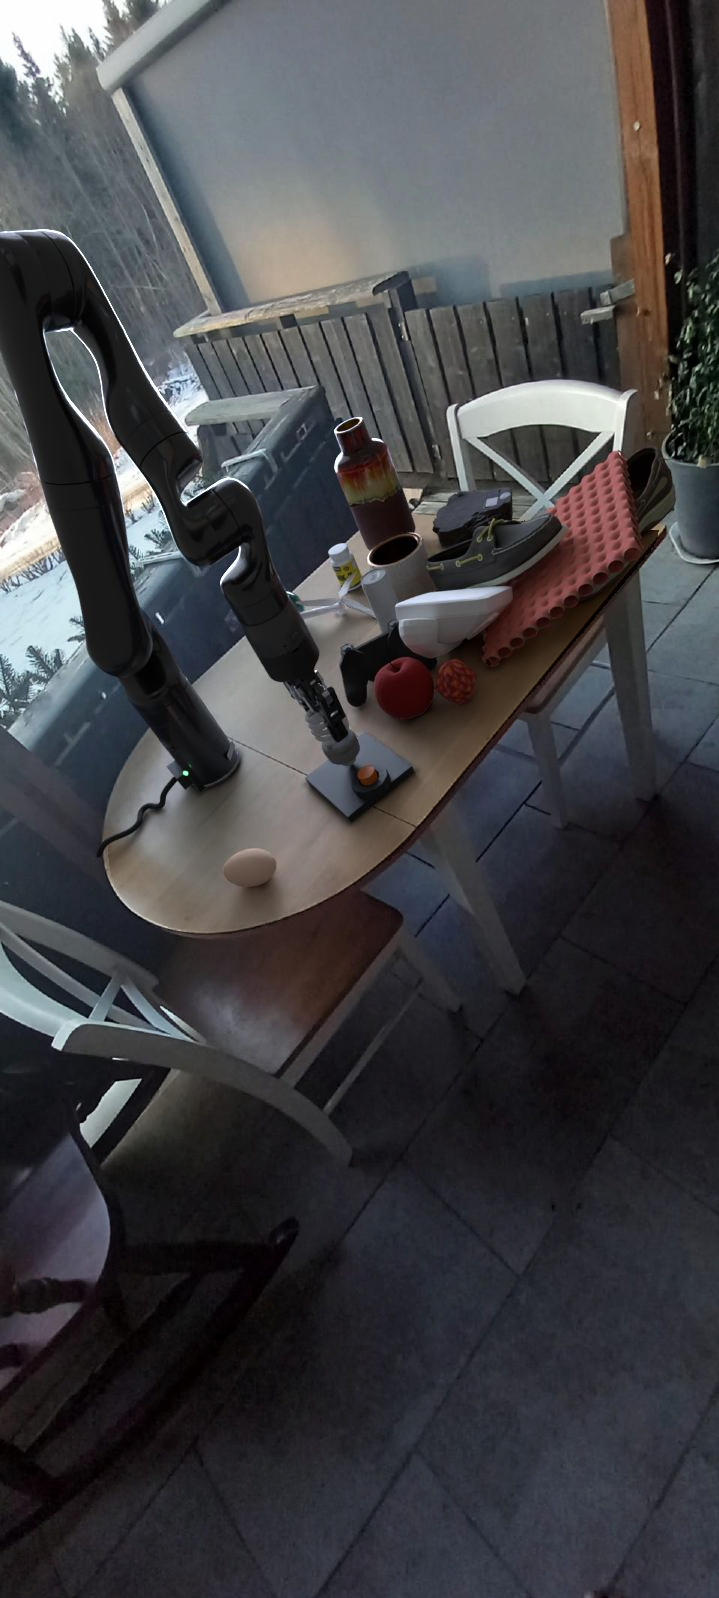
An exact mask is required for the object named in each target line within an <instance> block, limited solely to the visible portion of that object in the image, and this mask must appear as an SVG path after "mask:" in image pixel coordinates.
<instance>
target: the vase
mask: <svg viewBox="0 0 719 1598" xmlns="http://www.w3.org/2000/svg"><path fill="white" fill-rule="evenodd" d="M333 431H334V435H335V438H336V440H337V443H338V446H339V449H340V452H339V454H338V455H337V456H336V458H335V461H334V466H333V468H334V472H335V475H336V477H337V481H338V482H339V485H340V488H341V489H342V493H343V494H344V497H345V499H346V500H345V501H346V502H347V504H348V506H349V509H350V512H351V514H352V516H353V518H354V522H355V524H356V526H357V528H358V531H359V533H360V536H361V538H362V540H363V542H364V544H365V545H364V546H365V547H366V549H367V550H368V551H369V552H370V551H371V550H372V549H373V548H374V547H375V546H376V545H378V544H379V543H380V542H382V541H384V540H386V539H388V538H390V537H392V536H395V535H398V534H402V533H415V532H416V528H417V527H416V523H415V520H414V517H413V514H412V511H411V507H410V505H409V502H408V499H407V496H406V494H405V491H404V488H403V485H402V482H401V480H400V476H399V473H398V471H397V468H396V465H395V462H394V459H393V457H392V454H391V451H390V448H389V447H388V444H387V443H386V442H385V441H384V440H382V439H380V438H377V437H371V436H370V433H369V431H368V428H367V425H366V423H365V421H364V418H363V417H362V416H361V417H360V416H356V417H352V418H349V419H347V420H345V421H343V422H342V423H340V424H338V425H337V426H336V427H335V429H334V430H333Z"/></svg>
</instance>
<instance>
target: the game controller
mask: <svg viewBox="0 0 719 1598" xmlns="http://www.w3.org/2000/svg"><path fill="white" fill-rule="evenodd" d="M387 625H388V626H387V630H388V631H386V632H385V633H381V634H379V635H377V636H375V637H373V638H371V639H369V640H367V641H365V642H363V643H361V644H360V645H358V646H356V647H355V646H354V645H353V644H351V643H350V642H347V643H344V644H343V645H341V646H340V651H339V652H340V659H339V663H338V667H339V671H340V674H341V679H342V685H343V691H344V695H345V698H346V701H347V703H348V704H349V705H350V706H352V707H354V708H359V707H362V706H363V705H365V704H366V702H367V699H368V684H369V681H370V682H373V683H374V681H375V677H376V675H377V673H378V672H379V670H380V669H381V668H383V667H384V666H385V665H387V664H388V663H389V662H387V661H386V659H387V658H389V661H390V662H392V661H394V660H396V659H399V658H403V657H410V658H413V659H416V660H419V661H420V662H422V663H423V664H424V665H425V666H426V667H427V669H428V670H429V672H430V671H433V670H434V669H435V668H436V667H437V663H438V657H436V658H426V657H424V656H422V655H419V654H417V653H414V652H413V651H412V650H410V649H409V648H408V647H407V646H406V645H405V644H404V642H403V640H402V638H401V637H400V633H399V621H398V620H397V619H393V620H390V621H389V622H388V623H387Z"/></svg>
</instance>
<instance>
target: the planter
mask: <svg viewBox="0 0 719 1598" xmlns="http://www.w3.org/2000/svg"><path fill="white" fill-rule="evenodd" d="M428 557H430V555H429V554H428V550H427V547H426V545H425V542H424V539H423V537H422V536H421V535H420V534H419V533H415V532H414V533H402V534H398V535H395V536H392V537H390V538H388V539H386V540H384V541H382V542H380V543H379V544H378V545H376V546H375V547H374V548H373V549H372V550H371V551H370V550H369V553H368V554H367V556H366V563H367V565H368V567H369V571H371V570H373V569H377V568H382V569H384V570H385V571H386V573H387V574H388V576H389V579H390V581H391V584H392V586H393V589H394V591H395V594H396V596H397V599H398V601H399V603H400V602H403V601H405V600H408V599H411V598H413V597H416V596H419V595H423V594H426V593H431V592H435V589H436V586H435V584H434V582H433V580H432V579H431V577H430V574H429V573H428V570H427V569H426V567H425V560H426V559H427V558H428Z"/></svg>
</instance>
